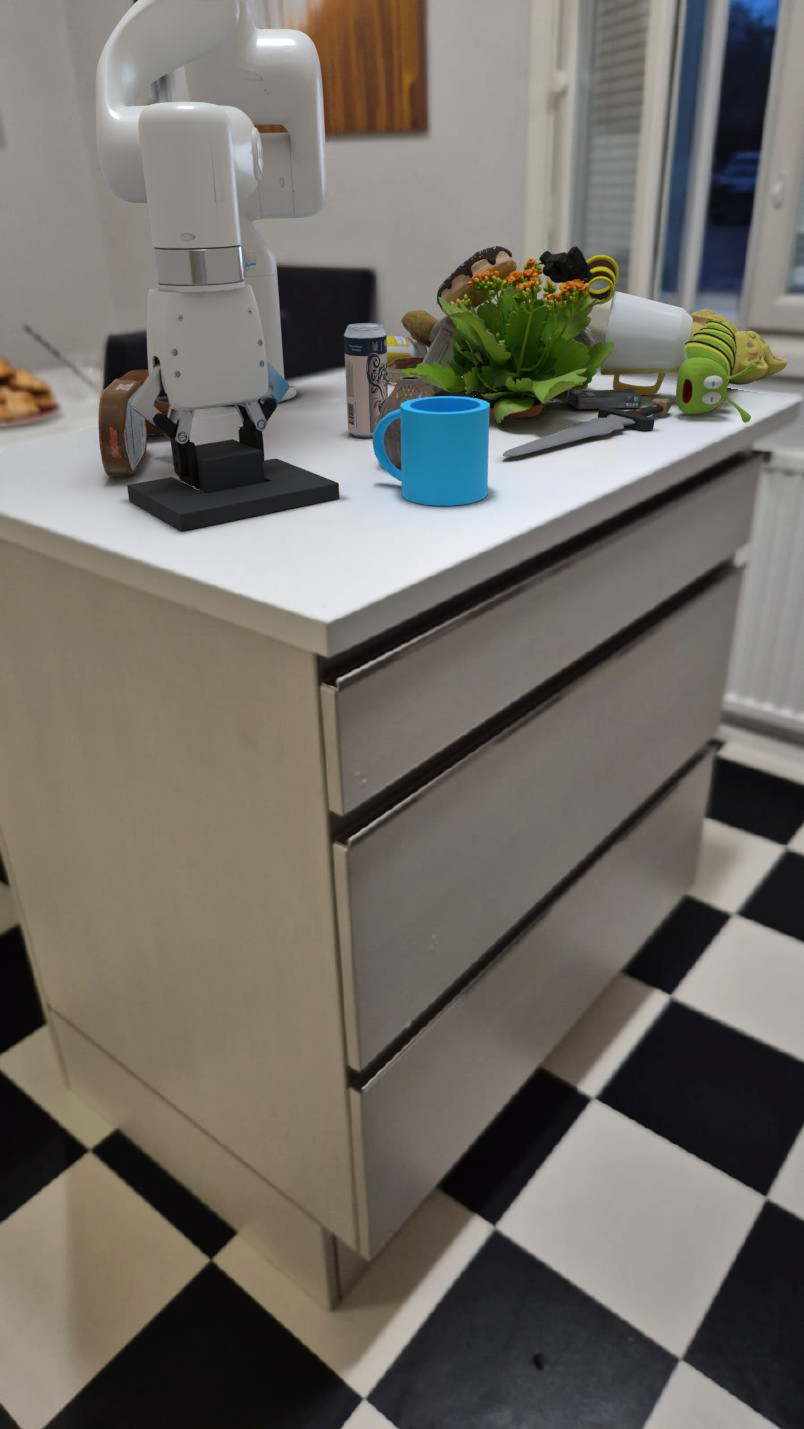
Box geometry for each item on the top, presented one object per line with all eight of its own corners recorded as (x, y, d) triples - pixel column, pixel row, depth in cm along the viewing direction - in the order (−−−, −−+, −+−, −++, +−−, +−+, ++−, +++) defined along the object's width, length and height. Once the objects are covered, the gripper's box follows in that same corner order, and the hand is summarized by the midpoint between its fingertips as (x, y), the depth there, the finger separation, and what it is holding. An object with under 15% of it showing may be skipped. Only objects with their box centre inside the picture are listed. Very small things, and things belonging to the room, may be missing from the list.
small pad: (179, 479, 95) (176, 448, 94) (235, 469, 98) (233, 439, 97) (207, 493, 91) (203, 461, 89) (265, 482, 94) (262, 450, 92)
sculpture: (476, 376, 150) (450, 374, 163) (489, 355, 149) (462, 356, 163) (406, 322, 145) (386, 325, 159) (419, 301, 144) (398, 306, 158)
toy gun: (561, 261, 113) (595, 299, 115) (579, 240, 112) (613, 279, 114) (512, 269, 131) (543, 302, 133) (528, 251, 131) (558, 284, 133)
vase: (384, 455, 107) (382, 371, 103) (448, 457, 106) (448, 371, 102) (372, 472, 101) (370, 383, 97) (439, 474, 100) (439, 384, 96)
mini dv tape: (577, 397, 125) (567, 389, 131) (577, 409, 126) (567, 401, 131) (641, 395, 126) (629, 388, 131) (640, 407, 126) (628, 399, 132)
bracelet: (453, 377, 148) (453, 356, 147) (430, 387, 141) (430, 365, 140) (400, 373, 151) (400, 353, 150) (375, 383, 144) (374, 362, 143)
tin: (127, 450, 111) (115, 372, 107) (155, 449, 111) (144, 371, 107) (102, 486, 98) (88, 398, 94) (135, 485, 98) (122, 397, 94)
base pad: (128, 500, 93) (126, 484, 93) (277, 472, 101) (276, 458, 101) (182, 531, 85) (179, 514, 84) (339, 498, 93) (339, 482, 92)
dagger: (687, 415, 123) (689, 398, 122) (560, 471, 100) (561, 450, 99) (631, 408, 127) (633, 392, 126) (497, 460, 104) (497, 440, 103)
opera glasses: (592, 272, 121) (624, 294, 122) (596, 245, 123) (627, 267, 125) (544, 326, 128) (575, 345, 130) (549, 300, 131) (578, 319, 133)
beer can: (383, 439, 114) (381, 328, 108) (343, 438, 115) (338, 327, 109) (392, 430, 118) (390, 322, 112) (353, 429, 119) (349, 322, 113)
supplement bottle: (359, 377, 151) (416, 379, 155) (372, 365, 146) (431, 368, 150) (355, 341, 151) (413, 345, 155) (368, 328, 146) (428, 332, 150)
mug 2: (700, 280, 124) (615, 272, 126) (690, 344, 120) (604, 336, 122) (683, 356, 136) (606, 349, 138) (674, 416, 133) (595, 408, 135)
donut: (525, 276, 130) (510, 249, 130) (514, 260, 119) (497, 230, 119) (454, 325, 134) (439, 298, 133) (437, 314, 123) (420, 285, 122)
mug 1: (502, 488, 95) (505, 401, 91) (461, 510, 89) (462, 417, 85) (397, 473, 101) (395, 390, 97) (351, 492, 94) (347, 404, 91)
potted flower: (373, 423, 120) (369, 266, 112) (440, 389, 140) (440, 252, 131) (575, 438, 112) (587, 269, 104) (617, 399, 131) (629, 254, 123)
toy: (668, 358, 117) (756, 364, 113) (719, 293, 136) (795, 296, 132) (663, 420, 121) (747, 428, 117) (713, 349, 140) (787, 353, 136)
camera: (434, 354, 144) (467, 294, 137) (466, 377, 144) (500, 318, 137) (402, 380, 136) (435, 317, 129) (436, 404, 136) (471, 343, 129)
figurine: (709, 305, 144) (803, 328, 136) (696, 365, 150) (785, 392, 141) (665, 315, 138) (760, 341, 129) (652, 378, 143) (743, 407, 134)
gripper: (267, 262, 93) (281, 455, 101) (87, 274, 84) (120, 484, 92) (308, 266, 87) (319, 470, 96) (120, 279, 78) (151, 502, 87)
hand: (221, 475), depth 94 cm, fingers closed on small pad, 5 cm apart
